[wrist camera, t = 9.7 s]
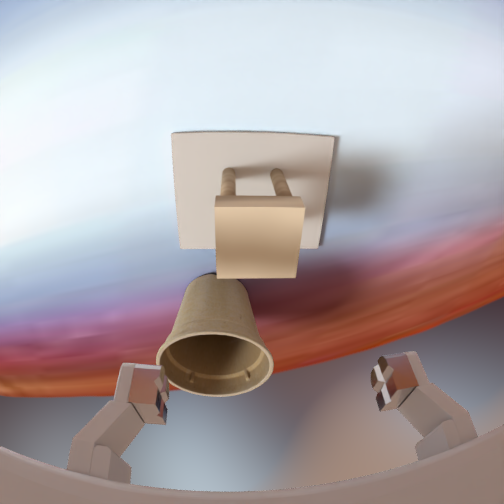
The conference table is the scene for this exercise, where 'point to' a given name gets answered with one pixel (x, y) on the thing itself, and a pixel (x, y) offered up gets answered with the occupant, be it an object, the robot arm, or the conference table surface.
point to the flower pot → (215, 341)
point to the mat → (247, 177)
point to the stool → (257, 230)
